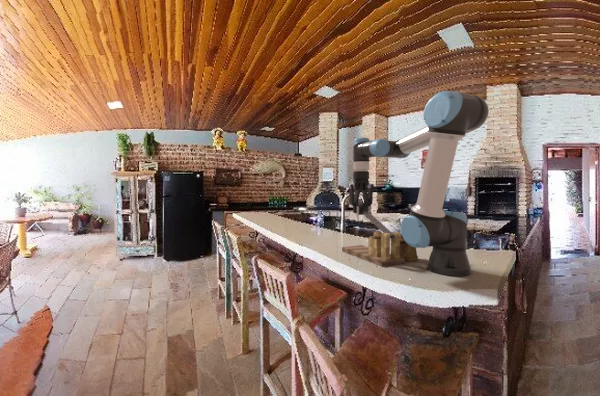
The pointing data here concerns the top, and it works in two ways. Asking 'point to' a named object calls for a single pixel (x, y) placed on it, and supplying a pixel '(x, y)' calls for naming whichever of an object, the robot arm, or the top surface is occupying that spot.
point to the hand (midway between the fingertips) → (360, 219)
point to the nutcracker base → (379, 250)
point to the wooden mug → (407, 251)
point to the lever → (373, 218)
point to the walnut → (377, 234)
